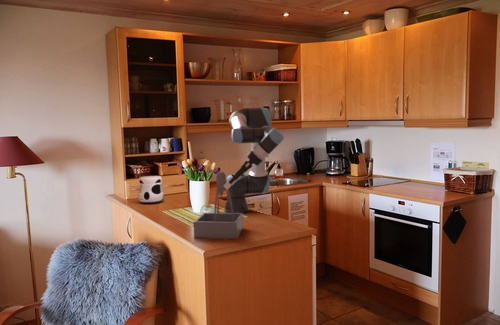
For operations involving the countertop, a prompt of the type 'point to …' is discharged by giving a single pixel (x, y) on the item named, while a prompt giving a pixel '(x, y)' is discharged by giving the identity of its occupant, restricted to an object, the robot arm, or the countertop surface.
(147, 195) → the milk container
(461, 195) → the countertop surface
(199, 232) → the gray open bin
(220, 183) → the citrus juicer
